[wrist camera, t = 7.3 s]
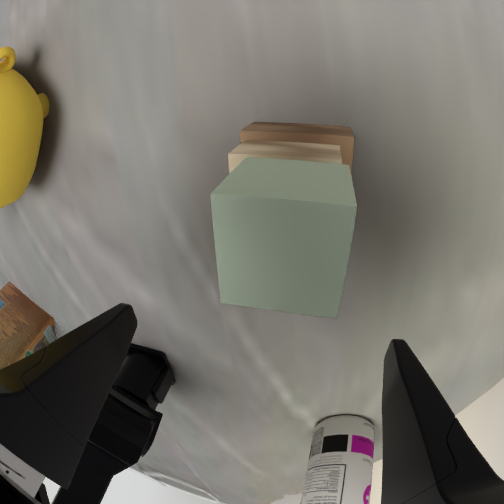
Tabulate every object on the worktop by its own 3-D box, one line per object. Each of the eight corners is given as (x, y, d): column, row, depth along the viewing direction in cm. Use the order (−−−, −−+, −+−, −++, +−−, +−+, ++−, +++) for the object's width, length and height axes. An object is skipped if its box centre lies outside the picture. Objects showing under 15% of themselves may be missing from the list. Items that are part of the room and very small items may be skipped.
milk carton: (9, 281, 38) (-62, 358, 22) (53, 318, 38) (-17, 409, 23) (17, 316, 44) (-40, 386, 28) (57, 349, 44) (2, 427, 29)
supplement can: (382, 414, 32) (375, 524, 20) (364, 439, 36) (354, 531, 24) (320, 409, 34) (300, 522, 21) (310, 435, 38) (291, 528, 26)
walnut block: (256, 206, 22) (244, 229, 19) (254, 121, 18) (239, 131, 16) (342, 213, 20) (344, 239, 18) (349, 127, 17) (354, 137, 14)
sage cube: (248, 244, 16) (220, 302, 12) (245, 157, 13) (210, 193, 10) (338, 254, 15) (337, 318, 11) (349, 164, 12) (357, 206, 9)
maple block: (247, 222, 18) (233, 248, 16) (244, 140, 16) (228, 153, 13) (332, 230, 17) (331, 258, 15) (339, 145, 15) (342, 160, 12)
